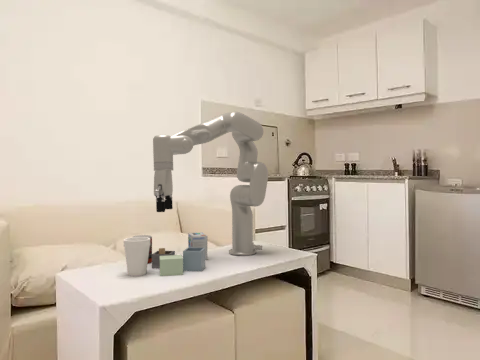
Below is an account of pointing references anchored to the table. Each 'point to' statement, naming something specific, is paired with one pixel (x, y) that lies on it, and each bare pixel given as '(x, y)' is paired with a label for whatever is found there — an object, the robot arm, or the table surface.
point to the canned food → (149, 248)
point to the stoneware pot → (193, 259)
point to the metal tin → (157, 258)
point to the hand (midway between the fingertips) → (164, 210)
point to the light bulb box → (198, 241)
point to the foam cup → (137, 255)
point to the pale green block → (171, 265)
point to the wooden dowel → (161, 250)
